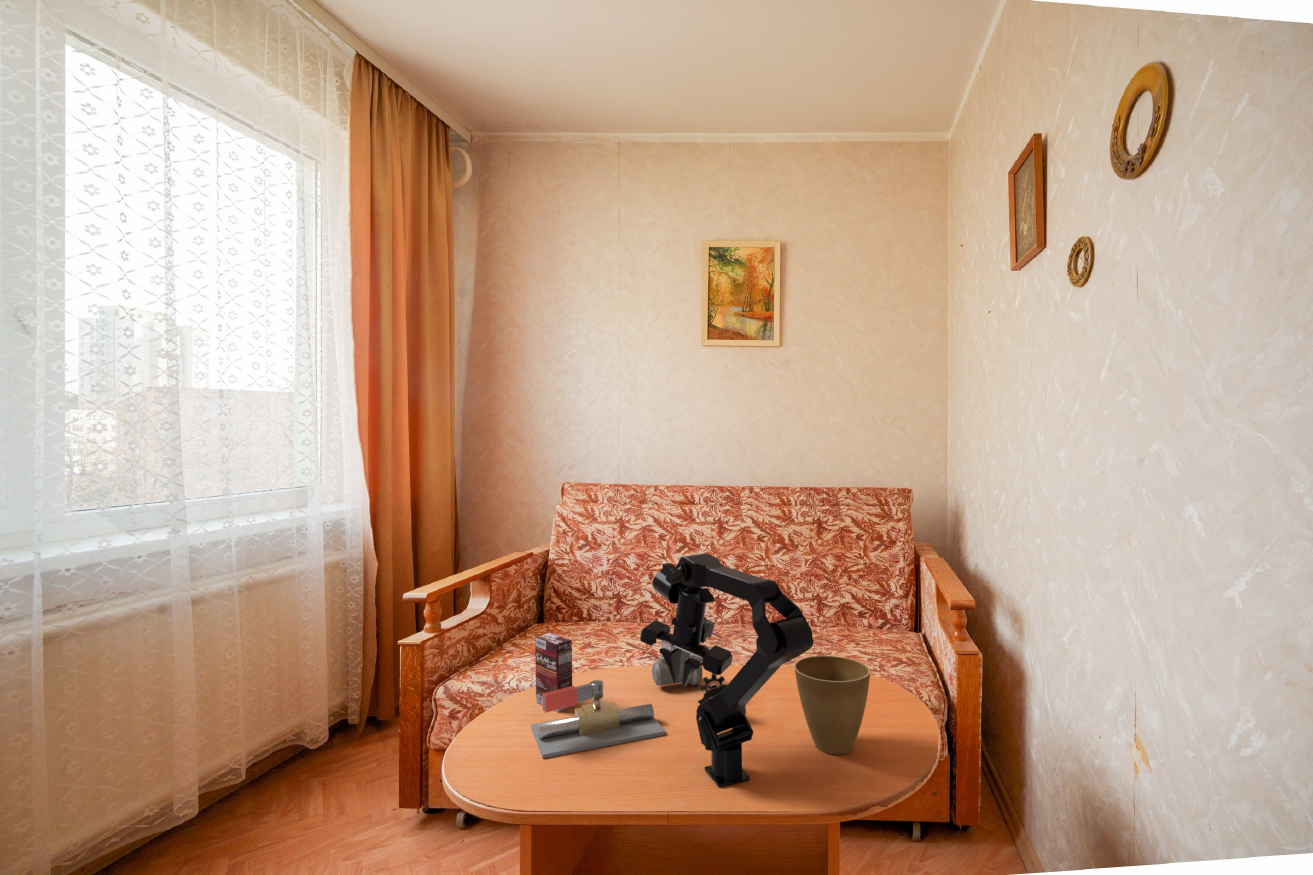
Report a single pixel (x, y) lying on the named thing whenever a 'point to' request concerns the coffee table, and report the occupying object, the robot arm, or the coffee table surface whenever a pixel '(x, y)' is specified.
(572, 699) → the valve lever
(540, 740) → the mounting board
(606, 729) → the valve body
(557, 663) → the supplement box
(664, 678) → the pipe fitting
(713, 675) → the valve
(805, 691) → the plant pot
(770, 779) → the coffee table surface
